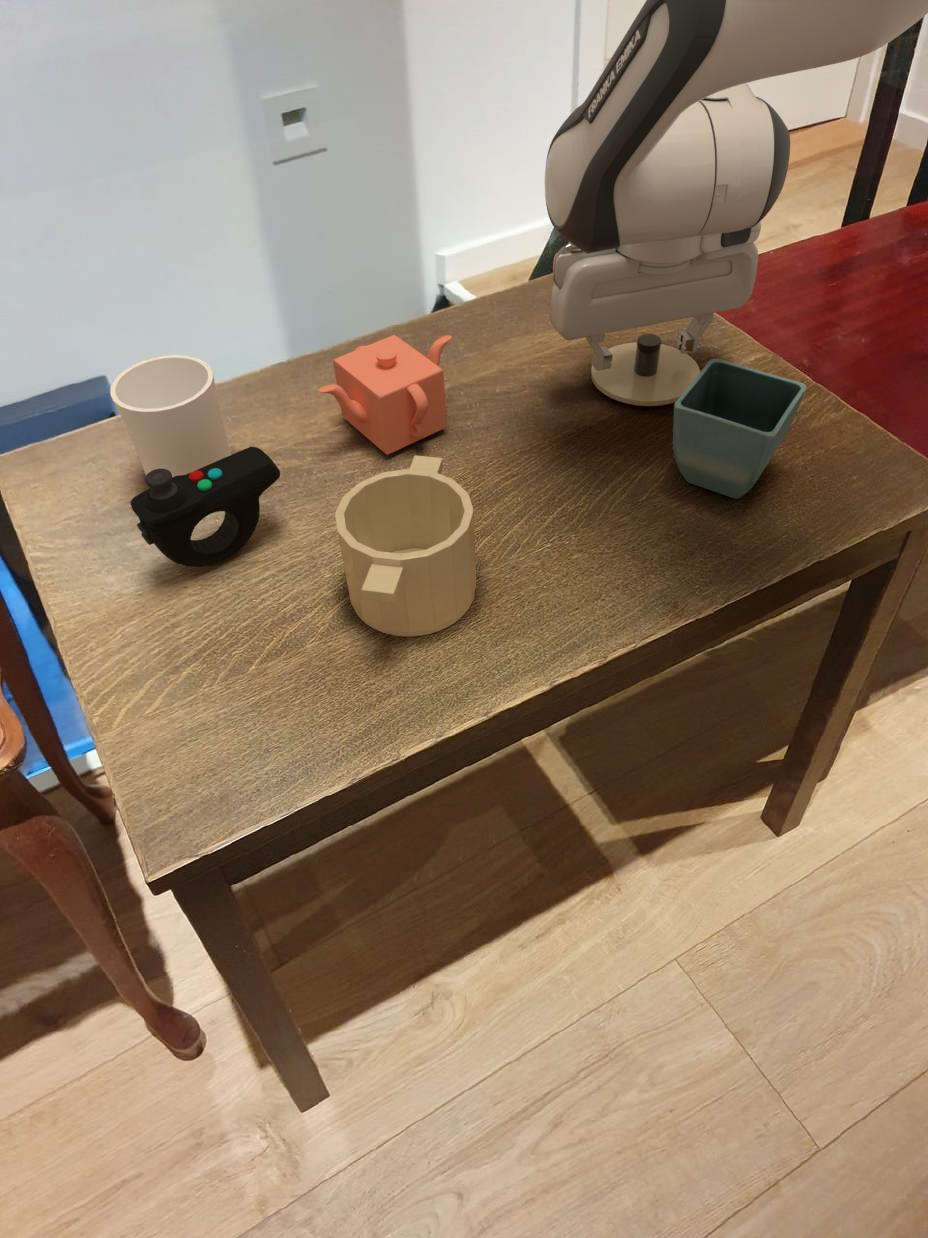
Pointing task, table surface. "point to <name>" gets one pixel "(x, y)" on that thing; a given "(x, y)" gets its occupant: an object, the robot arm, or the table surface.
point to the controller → (205, 507)
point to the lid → (646, 373)
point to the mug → (172, 413)
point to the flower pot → (732, 425)
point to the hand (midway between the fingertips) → (644, 358)
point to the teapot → (391, 391)
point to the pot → (408, 549)
